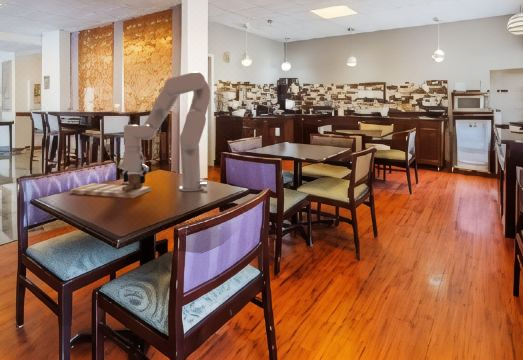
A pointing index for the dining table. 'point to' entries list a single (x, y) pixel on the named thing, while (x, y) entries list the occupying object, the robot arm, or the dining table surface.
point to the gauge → (133, 182)
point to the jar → (128, 174)
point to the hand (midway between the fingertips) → (134, 182)
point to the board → (109, 190)
